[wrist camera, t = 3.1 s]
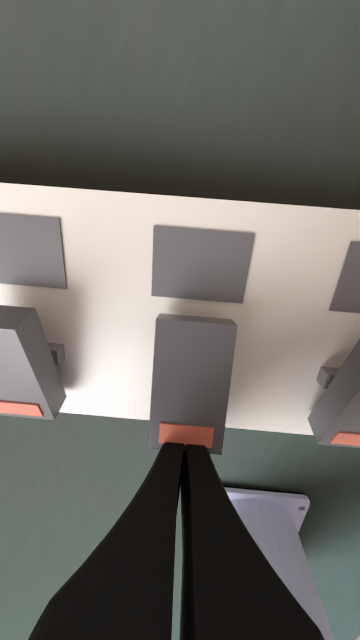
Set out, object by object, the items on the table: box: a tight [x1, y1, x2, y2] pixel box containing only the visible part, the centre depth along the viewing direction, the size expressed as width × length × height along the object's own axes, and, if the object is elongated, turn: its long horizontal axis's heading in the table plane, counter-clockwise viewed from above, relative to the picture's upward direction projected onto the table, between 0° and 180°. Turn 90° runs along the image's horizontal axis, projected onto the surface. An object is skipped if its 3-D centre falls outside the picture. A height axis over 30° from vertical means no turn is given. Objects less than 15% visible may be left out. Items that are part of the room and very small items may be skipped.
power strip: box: [0, 183, 360, 435], centre depth 12 cm, size 10×28×4 cm, turn 86°
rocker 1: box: [0, 305, 67, 420], centre depth 10 cm, size 5×3×1 cm, turn 175°
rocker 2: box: [148, 313, 238, 455], centre depth 9 cm, size 5×3×1 cm, turn 176°
